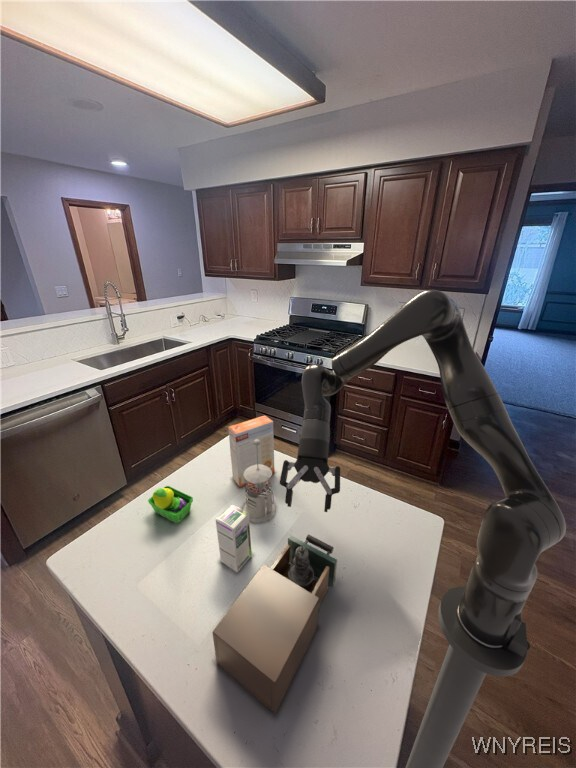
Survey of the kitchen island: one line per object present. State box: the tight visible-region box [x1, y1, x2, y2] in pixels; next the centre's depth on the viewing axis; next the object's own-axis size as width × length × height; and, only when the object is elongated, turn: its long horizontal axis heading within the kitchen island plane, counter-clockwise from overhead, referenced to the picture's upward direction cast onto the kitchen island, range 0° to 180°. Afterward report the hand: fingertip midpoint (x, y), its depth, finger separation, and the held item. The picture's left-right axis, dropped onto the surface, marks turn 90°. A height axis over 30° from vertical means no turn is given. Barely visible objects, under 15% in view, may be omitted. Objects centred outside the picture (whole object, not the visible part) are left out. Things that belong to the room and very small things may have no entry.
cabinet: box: [212, 563, 320, 715], centre depth 60 cm, size 16×14×10 cm
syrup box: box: [215, 504, 253, 573], centre depth 77 cm, size 6×6×14 cm
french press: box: [242, 439, 276, 524], centre depth 89 cm, size 10×12×25 cm
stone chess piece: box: [288, 546, 315, 592], centre depth 69 cm, size 6×6×12 cm
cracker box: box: [227, 414, 275, 488], centre depth 105 cm, size 14×6×21 cm, turn 124°
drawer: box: [270, 534, 338, 606], centre depth 71 cm, size 19×12×8 cm, turn 148°
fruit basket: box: [147, 485, 194, 524], centre depth 91 cm, size 11×9×11 cm
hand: (307, 509), depth 72 cm, fingers open, 8 cm apart
